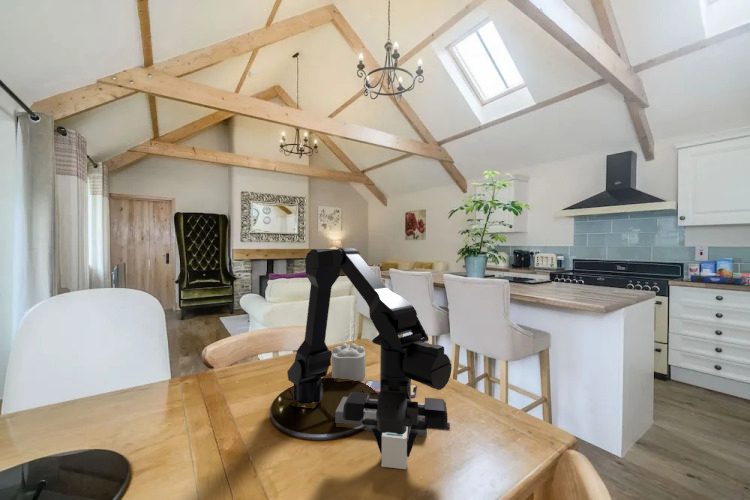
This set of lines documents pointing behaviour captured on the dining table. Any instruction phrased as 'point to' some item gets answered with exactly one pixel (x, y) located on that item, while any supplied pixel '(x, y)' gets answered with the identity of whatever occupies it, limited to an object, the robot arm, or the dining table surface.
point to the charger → (394, 450)
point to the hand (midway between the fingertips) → (394, 454)
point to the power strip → (340, 418)
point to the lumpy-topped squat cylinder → (348, 362)
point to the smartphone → (376, 386)
